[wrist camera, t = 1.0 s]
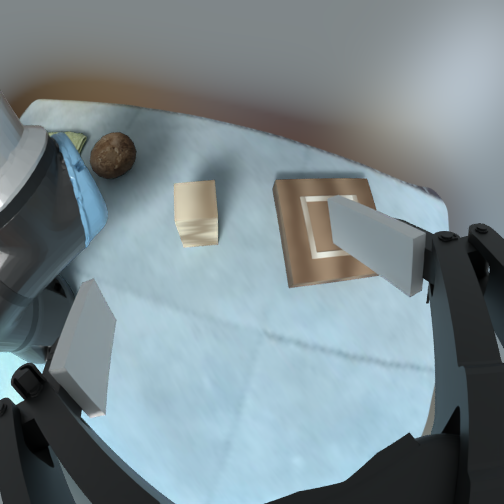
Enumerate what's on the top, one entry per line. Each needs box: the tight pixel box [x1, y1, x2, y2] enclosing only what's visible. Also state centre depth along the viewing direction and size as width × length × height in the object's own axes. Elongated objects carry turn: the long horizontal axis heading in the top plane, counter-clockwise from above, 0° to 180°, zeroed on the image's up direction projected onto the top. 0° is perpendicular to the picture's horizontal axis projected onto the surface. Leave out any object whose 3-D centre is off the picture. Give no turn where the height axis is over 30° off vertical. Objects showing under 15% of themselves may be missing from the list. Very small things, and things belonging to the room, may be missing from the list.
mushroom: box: [90, 132, 136, 179], centre depth 43 cm, size 8×8×6 cm
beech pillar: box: [174, 180, 218, 248], centre depth 39 cm, size 5×5×10 cm
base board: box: [273, 178, 379, 288], centre depth 44 cm, size 16×16×3 cm
